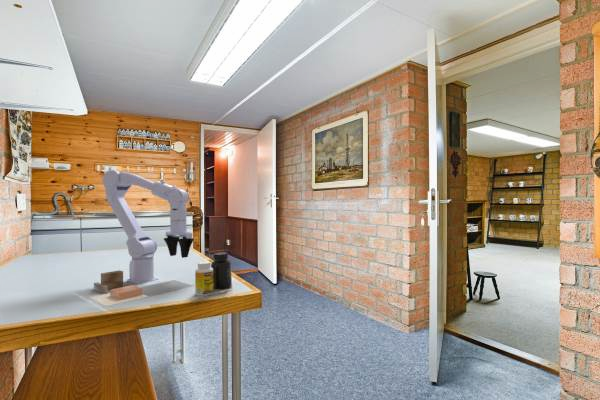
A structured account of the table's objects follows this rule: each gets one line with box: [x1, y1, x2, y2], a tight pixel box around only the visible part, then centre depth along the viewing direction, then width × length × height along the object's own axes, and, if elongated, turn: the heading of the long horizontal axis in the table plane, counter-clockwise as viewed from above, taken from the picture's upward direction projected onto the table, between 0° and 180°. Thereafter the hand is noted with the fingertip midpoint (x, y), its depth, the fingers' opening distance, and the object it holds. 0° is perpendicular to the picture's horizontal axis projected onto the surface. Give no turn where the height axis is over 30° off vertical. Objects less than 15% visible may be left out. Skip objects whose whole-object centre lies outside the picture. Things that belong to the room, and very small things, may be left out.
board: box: [89, 279, 194, 307], centre depth 106 cm, size 14×28×1 cm, turn 140°
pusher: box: [93, 270, 124, 295], centre depth 110 cm, size 7×9×6 cm
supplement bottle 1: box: [194, 260, 214, 297], centre depth 103 cm, size 6×6×10 cm
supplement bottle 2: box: [211, 251, 233, 290], centre depth 110 cm, size 7×7×12 cm
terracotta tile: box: [109, 284, 143, 300], centre depth 102 cm, size 7×7×2 cm
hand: (178, 256), depth 121 cm, fingers open, 7 cm apart
